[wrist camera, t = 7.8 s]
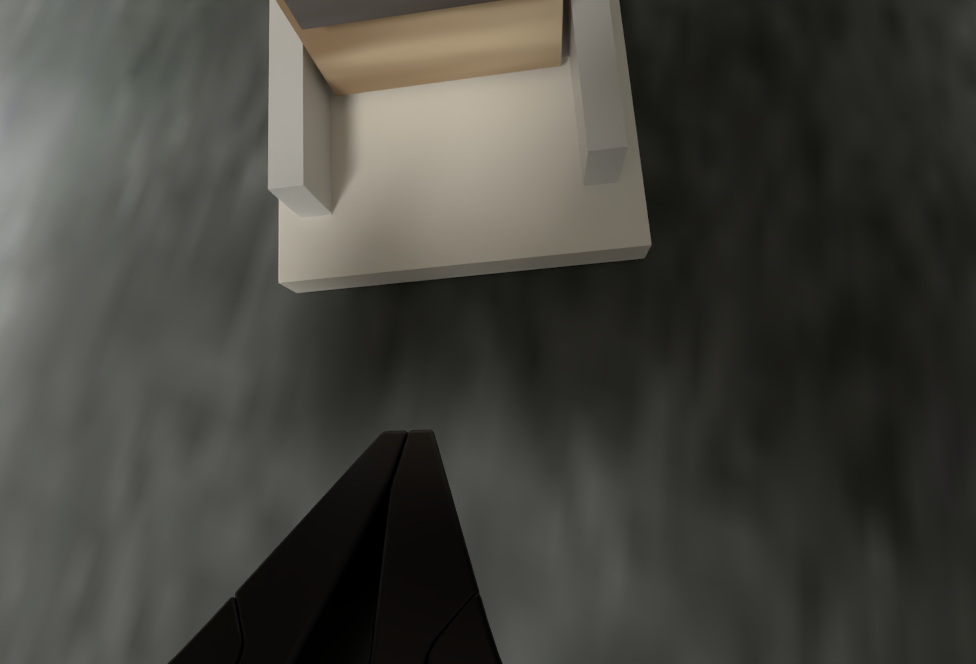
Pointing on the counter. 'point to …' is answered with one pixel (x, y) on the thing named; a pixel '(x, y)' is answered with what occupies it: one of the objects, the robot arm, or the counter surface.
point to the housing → (457, 166)
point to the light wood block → (424, 39)
